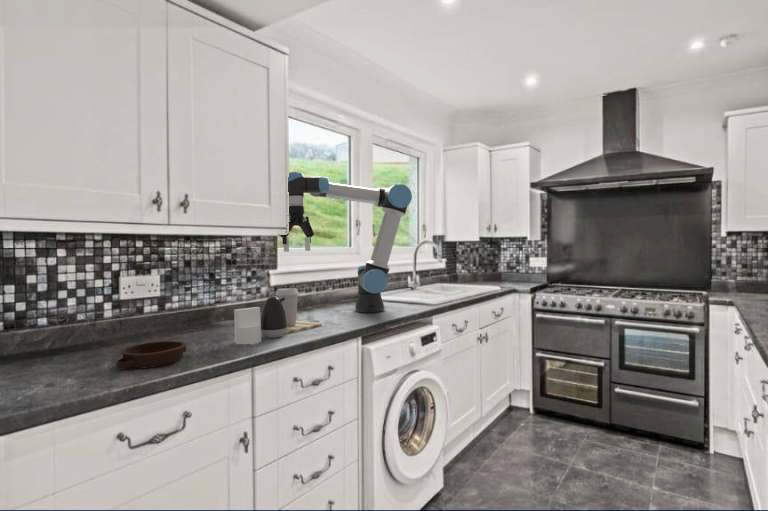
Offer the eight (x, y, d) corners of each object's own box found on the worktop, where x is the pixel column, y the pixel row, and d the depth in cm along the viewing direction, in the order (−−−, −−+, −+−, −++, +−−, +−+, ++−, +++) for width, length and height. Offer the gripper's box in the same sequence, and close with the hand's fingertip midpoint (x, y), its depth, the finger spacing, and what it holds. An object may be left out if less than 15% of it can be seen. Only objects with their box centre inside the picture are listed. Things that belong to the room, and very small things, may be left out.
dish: (205, 357, 142) (204, 341, 141) (140, 376, 122) (139, 357, 122) (166, 352, 149) (166, 337, 149) (99, 369, 130) (99, 352, 129)
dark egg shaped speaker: (293, 336, 170) (292, 296, 170) (269, 341, 163) (268, 298, 162) (278, 333, 177) (277, 294, 177) (254, 337, 170) (253, 296, 169)
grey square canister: (253, 338, 168) (252, 306, 168) (265, 341, 162) (265, 308, 161) (230, 342, 162) (229, 308, 162) (242, 346, 155) (241, 311, 155)
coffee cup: (304, 324, 189) (303, 288, 189) (284, 328, 182) (283, 290, 182) (291, 322, 196) (290, 287, 196) (271, 325, 189) (270, 289, 189)
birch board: (289, 321, 203) (289, 319, 203) (322, 325, 191) (322, 323, 191) (252, 329, 187) (252, 326, 187) (286, 334, 175) (286, 331, 175)
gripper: (309, 207, 224) (310, 250, 225) (269, 204, 204) (271, 252, 205) (320, 206, 220) (321, 250, 221) (280, 203, 200) (282, 251, 200)
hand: (297, 251), depth 213 cm, fingers open, 13 cm apart
